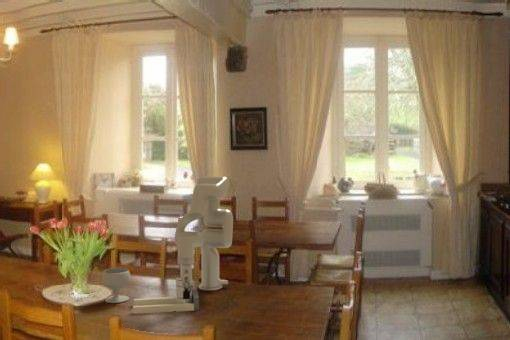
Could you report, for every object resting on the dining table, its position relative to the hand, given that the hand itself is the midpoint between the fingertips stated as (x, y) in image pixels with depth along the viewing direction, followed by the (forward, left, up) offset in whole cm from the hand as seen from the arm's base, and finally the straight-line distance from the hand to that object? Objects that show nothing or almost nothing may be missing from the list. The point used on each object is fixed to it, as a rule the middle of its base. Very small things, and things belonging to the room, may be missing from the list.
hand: (186, 295), depth 267 cm
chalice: (+34, -16, -6) cm, 38 cm away
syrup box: (+1, 0, -6) cm, 6 cm away
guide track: (+10, 0, -5) cm, 11 cm away
